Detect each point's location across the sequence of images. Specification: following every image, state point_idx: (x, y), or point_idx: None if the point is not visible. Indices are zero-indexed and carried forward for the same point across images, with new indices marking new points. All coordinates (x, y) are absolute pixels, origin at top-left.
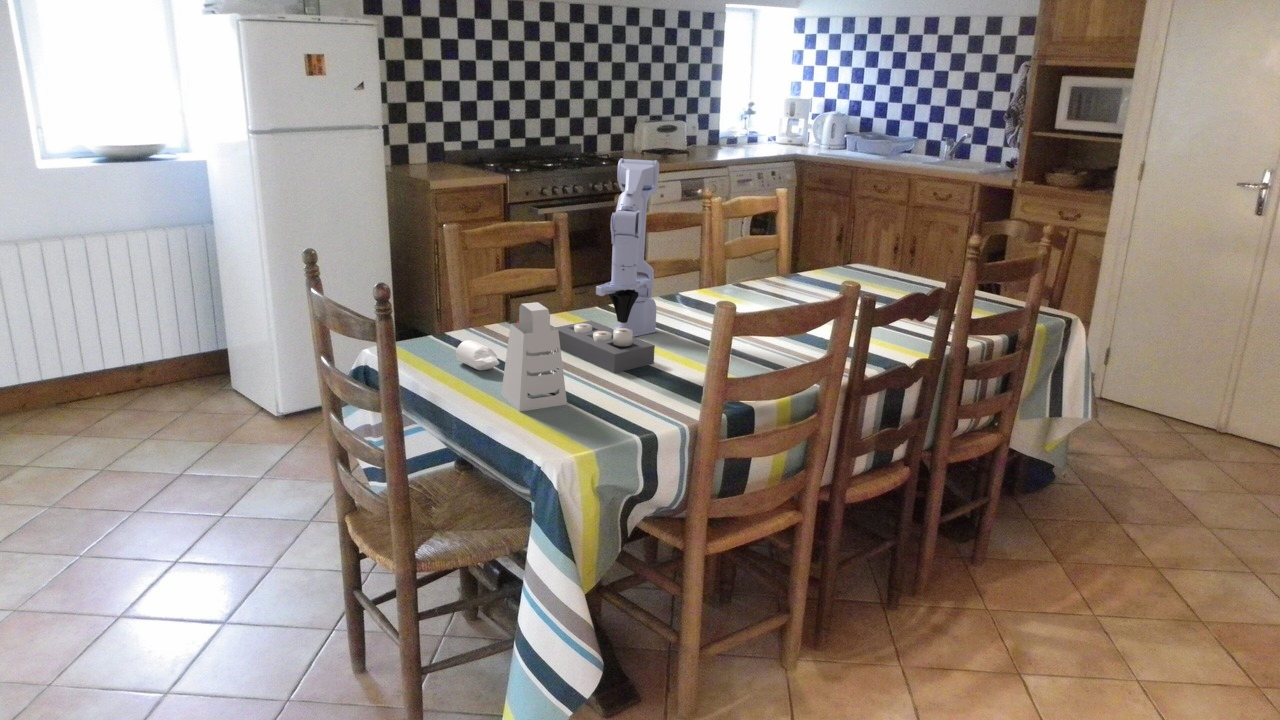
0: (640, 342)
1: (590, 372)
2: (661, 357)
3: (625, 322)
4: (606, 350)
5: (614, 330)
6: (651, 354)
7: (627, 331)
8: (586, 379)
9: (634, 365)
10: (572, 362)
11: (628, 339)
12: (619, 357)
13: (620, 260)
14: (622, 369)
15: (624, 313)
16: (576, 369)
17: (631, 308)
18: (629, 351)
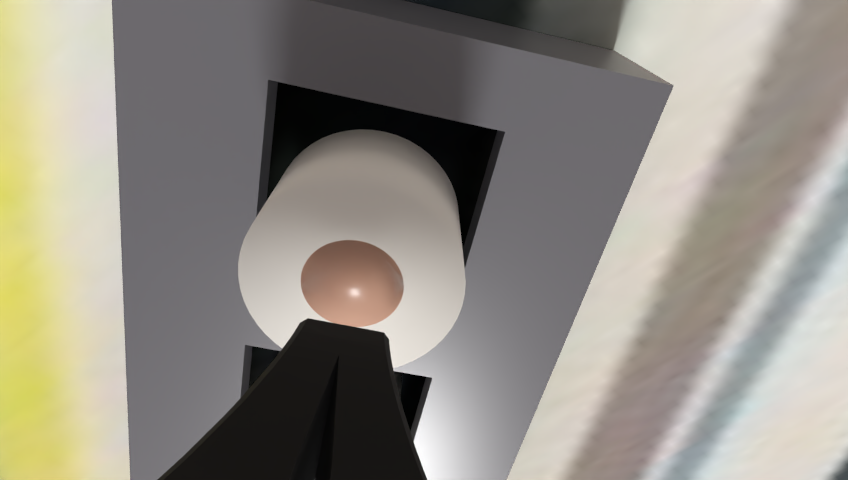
0: (180, 131)
1: (691, 186)
2: (27, 4)
3: (341, 324)
4: (612, 212)
5: (406, 354)
6: None
7: (323, 242)
8: (844, 117)
9: (408, 5)
10: (586, 364)
11: (383, 157)
12: (598, 63)
13: None
14: (535, 33)
15: (388, 432)
16: (687, 280)
17: (183, 464)
18: (482, 39)
